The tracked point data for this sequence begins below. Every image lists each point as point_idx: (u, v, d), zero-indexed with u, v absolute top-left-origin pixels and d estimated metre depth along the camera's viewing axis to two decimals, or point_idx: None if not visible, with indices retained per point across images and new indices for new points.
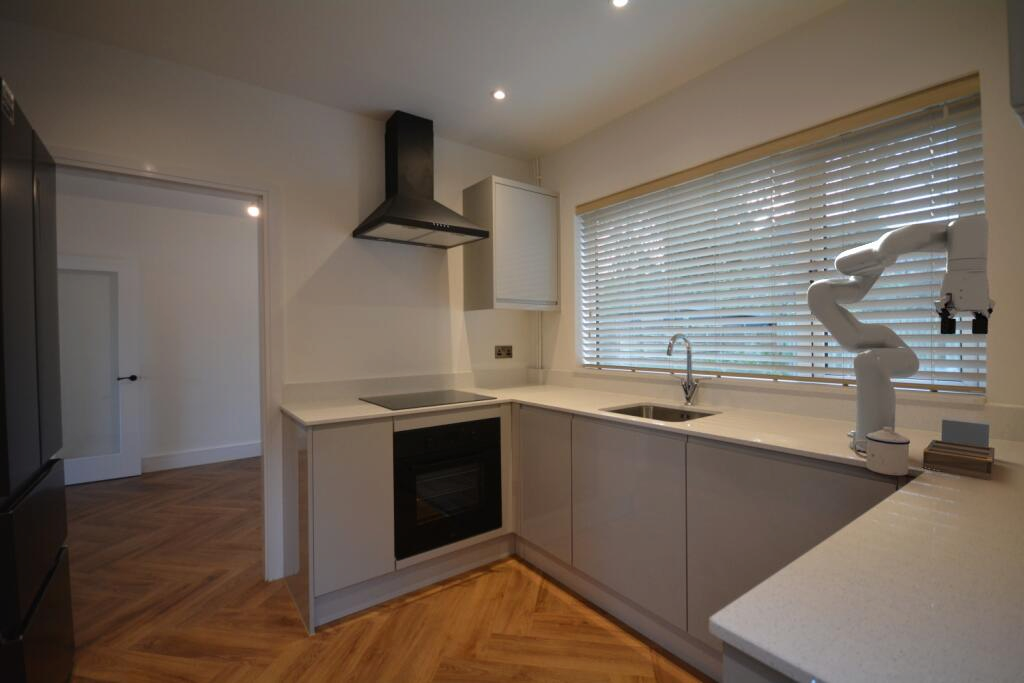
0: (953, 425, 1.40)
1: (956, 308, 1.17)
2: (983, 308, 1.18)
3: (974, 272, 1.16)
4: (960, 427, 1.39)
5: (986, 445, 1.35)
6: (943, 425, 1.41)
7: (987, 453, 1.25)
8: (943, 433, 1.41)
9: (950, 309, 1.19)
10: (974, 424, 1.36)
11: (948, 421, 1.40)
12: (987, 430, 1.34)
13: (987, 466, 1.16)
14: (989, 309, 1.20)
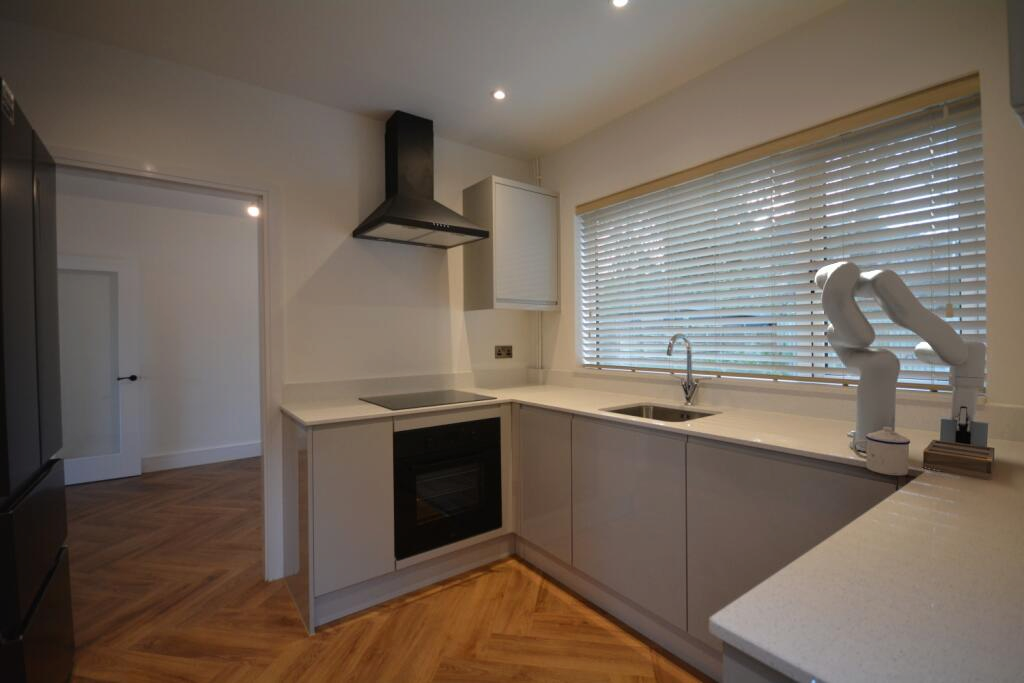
0: (952, 424, 1.40)
1: (970, 420, 1.34)
2: None
3: (977, 389, 1.36)
4: None
5: (984, 444, 1.35)
6: (942, 424, 1.41)
7: (987, 453, 1.25)
8: (942, 432, 1.41)
9: None
10: (973, 423, 1.36)
11: (947, 420, 1.41)
12: (986, 429, 1.34)
13: (987, 466, 1.16)
14: None
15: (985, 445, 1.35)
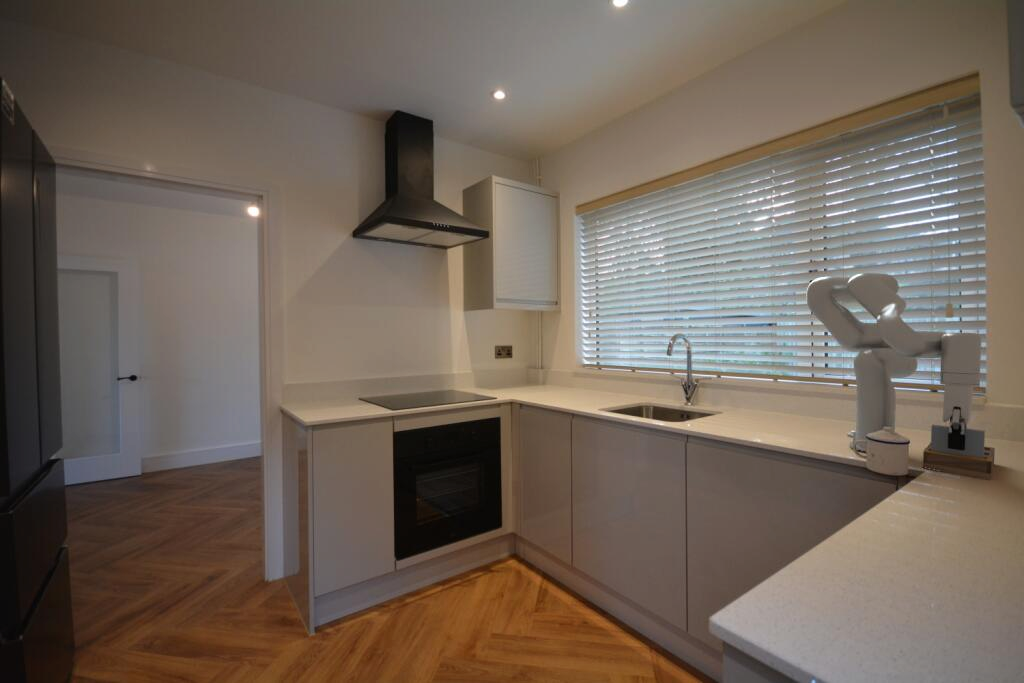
0: (944, 432, 1.23)
1: (965, 422, 1.18)
2: None
3: (972, 386, 1.20)
4: None
5: (981, 455, 1.18)
6: (933, 432, 1.25)
7: (987, 453, 1.25)
8: (933, 441, 1.25)
9: None
10: (967, 431, 1.20)
11: (938, 427, 1.24)
12: (982, 438, 1.18)
13: (987, 466, 1.16)
14: None
15: (981, 456, 1.18)
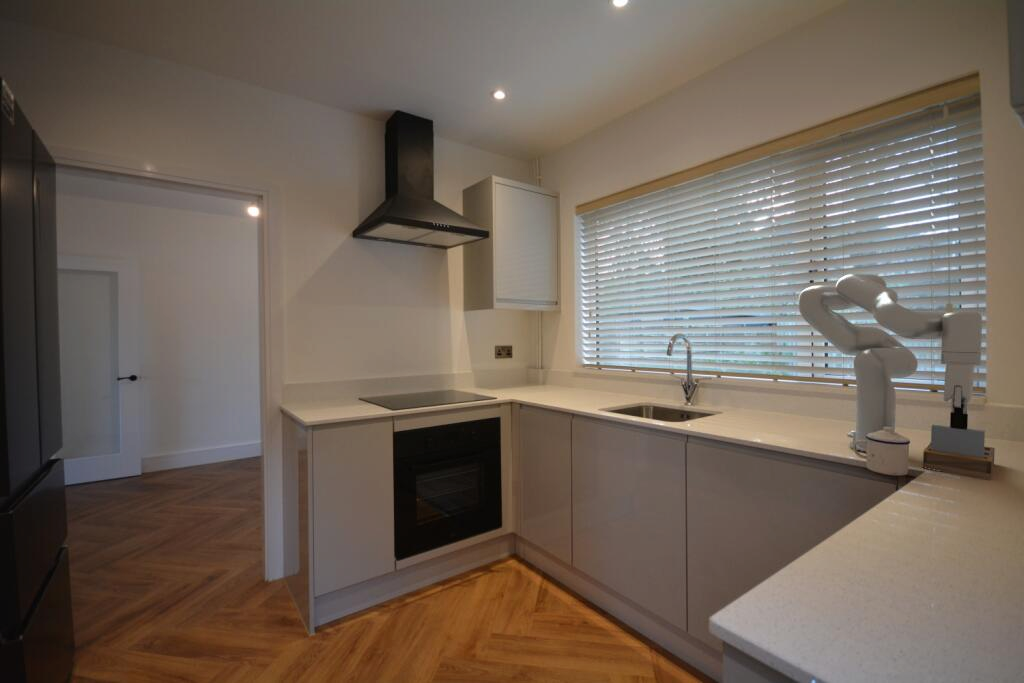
0: (944, 432, 1.23)
1: (966, 401, 1.18)
2: None
3: (973, 365, 1.19)
4: (952, 435, 1.22)
5: (981, 455, 1.18)
6: (933, 432, 1.25)
7: (987, 453, 1.25)
8: (933, 441, 1.25)
9: None
10: (967, 431, 1.20)
11: (938, 427, 1.24)
12: (982, 438, 1.18)
13: (987, 466, 1.16)
14: None
15: (981, 456, 1.18)
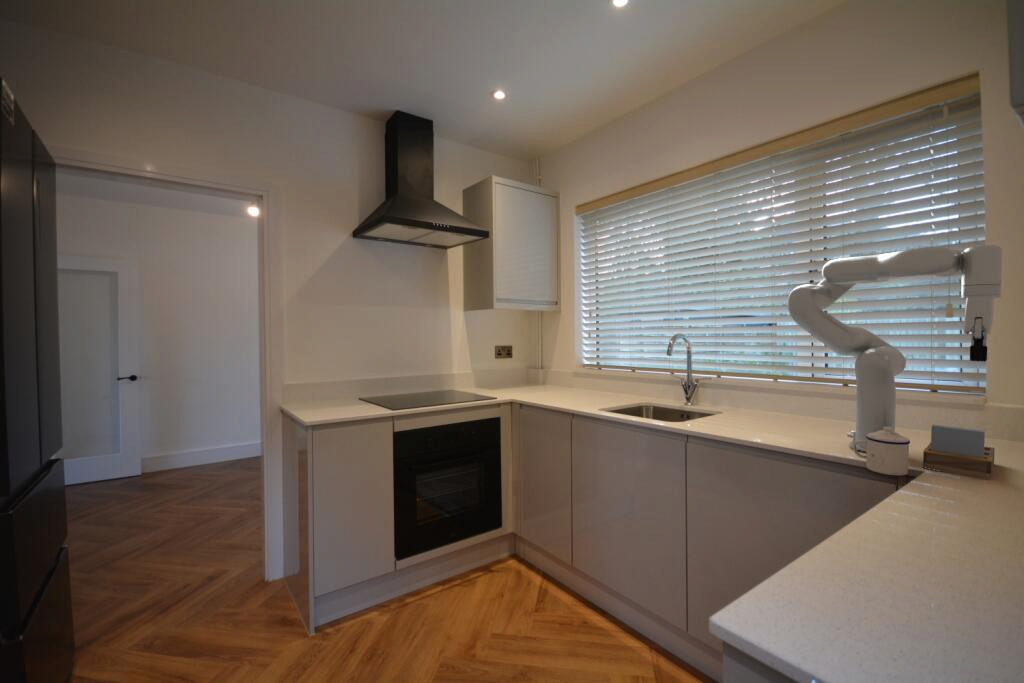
0: (944, 432, 1.23)
1: (986, 332, 1.20)
2: (990, 331, 1.25)
3: (993, 297, 1.22)
4: (952, 435, 1.22)
5: (981, 455, 1.18)
6: (933, 432, 1.25)
7: (987, 453, 1.25)
8: (933, 441, 1.25)
9: None
10: (967, 431, 1.20)
11: (938, 427, 1.24)
12: (982, 438, 1.18)
13: (987, 466, 1.16)
14: None
15: (981, 456, 1.18)
